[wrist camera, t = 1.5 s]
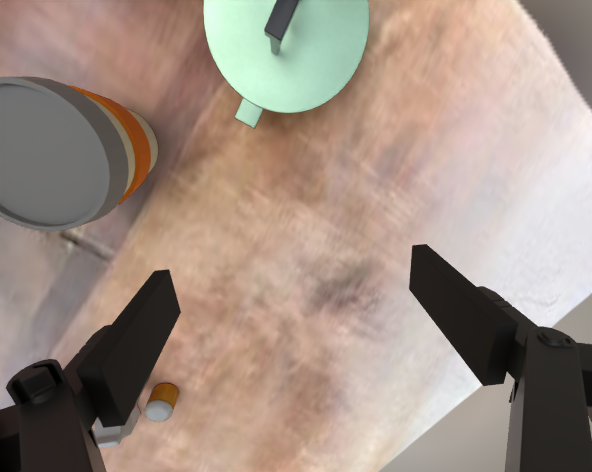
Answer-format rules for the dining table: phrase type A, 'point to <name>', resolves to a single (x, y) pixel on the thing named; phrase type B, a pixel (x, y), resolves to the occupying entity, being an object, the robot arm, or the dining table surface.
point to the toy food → (155, 410)
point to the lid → (287, 48)
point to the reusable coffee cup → (67, 154)
